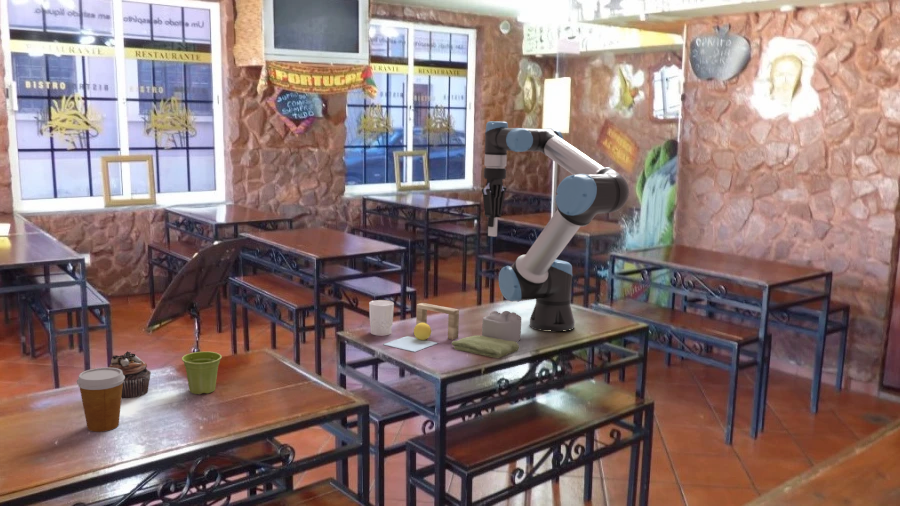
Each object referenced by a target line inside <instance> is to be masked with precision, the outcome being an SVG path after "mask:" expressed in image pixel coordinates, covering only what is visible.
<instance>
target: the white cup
mask: <svg viewBox="0 0 900 506" xmlns="http://www.w3.org/2000/svg"><path fill="white" fill-rule="evenodd" d="M368 305H369V306H368V307H369V310H368V311H369V326H370V334H371V335H374V336H379V337H380V336H382V337H383V336H389V335H391V334H392V332H393V331H392V328H393V327H392V326H393V321H394V308H395V307H394V306H395V303H394V301H392V300H386V299H385V300H384V299H378V300H377V299H376V300H371V301H369V302H368Z"/></svg>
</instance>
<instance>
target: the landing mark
mask: <svg viewBox="0 0 900 506" xmlns="http://www.w3.org/2000/svg"><path fill="white" fill-rule="evenodd" d="M438 344H439V343H438V342H436V341H430V340H428V339H426V340H419V339H417V338H416V337H415V336H414V337H413V336H410V335H409V336H408V335H406V336H403V337H400V338H397V339H394V340H391V341H388V342H386V343H383V344H382V345H383V346H386V347H390V348H396V349H400V350H404V351H407V352H411V353H416V352H419V351H422V350H424V349H426V348H429V347H432V346H435V345H438Z"/></svg>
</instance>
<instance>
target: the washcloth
mask: <svg viewBox="0 0 900 506" xmlns="http://www.w3.org/2000/svg"><path fill="white" fill-rule="evenodd" d="M451 345H452V346H453V349H454V350H456V351H461V352H466V353H470V354H476V355H481V356H484V357H489V358H494V359H500V358H502V357H505V356H507V355H508V354H512V353H515V352H517V351H519V349H520V345H519V343H518V342H515V341H506V340H502V339H496V338H492V337H485V336H482V335H471V336H467V337H462V338H460V339H458V340H453V341H452V342H451Z"/></svg>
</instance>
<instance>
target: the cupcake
mask: <svg viewBox="0 0 900 506" xmlns="http://www.w3.org/2000/svg"><path fill="white" fill-rule="evenodd" d="M147 367H148V364H147V362H145V361H143V360H142V359H141V358H140V357H138V355H136V353H131V351H126V352H125V353H124V354H121V355H112V358H111V361H110V364H109V366H108V368H117V369H120V370H122V372H123V375H124V376H125V379H124V382H123V386H122V396H121V399H122V400H123V399H135V398H139V397H142V396H146V394H148V392H149V387H150V386H149V385H150V380H151V374H152V372H151V371H150V370H149V369H148V368H147Z"/></svg>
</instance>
